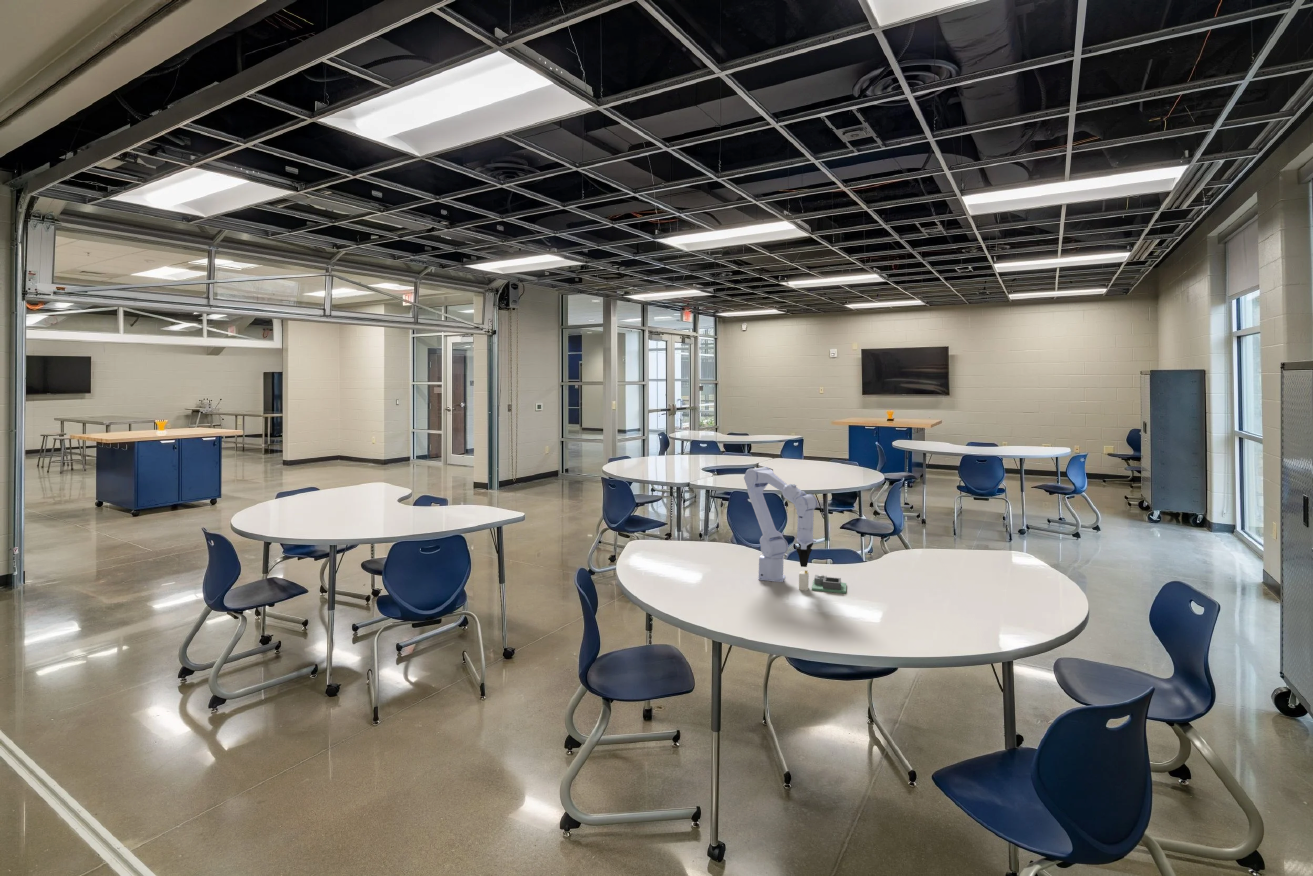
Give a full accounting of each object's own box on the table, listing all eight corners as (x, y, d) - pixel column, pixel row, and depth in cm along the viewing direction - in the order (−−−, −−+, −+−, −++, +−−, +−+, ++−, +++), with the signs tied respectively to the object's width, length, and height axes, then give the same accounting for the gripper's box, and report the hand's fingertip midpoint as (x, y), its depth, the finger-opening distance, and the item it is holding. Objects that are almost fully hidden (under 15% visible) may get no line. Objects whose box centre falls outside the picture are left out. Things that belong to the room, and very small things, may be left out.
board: (811, 590, 226) (812, 580, 226) (813, 581, 236) (813, 572, 235) (845, 593, 223) (846, 583, 222) (846, 585, 232) (846, 575, 232)
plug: (798, 589, 227) (799, 571, 226) (799, 586, 230) (799, 569, 230) (807, 590, 226) (808, 572, 226) (808, 587, 229) (808, 569, 229)
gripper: (815, 532, 218) (814, 570, 219) (817, 524, 232) (816, 559, 233) (795, 531, 220) (794, 568, 221) (798, 522, 234) (797, 557, 235)
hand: (804, 563), depth 227 cm, fingers open, 7 cm apart
